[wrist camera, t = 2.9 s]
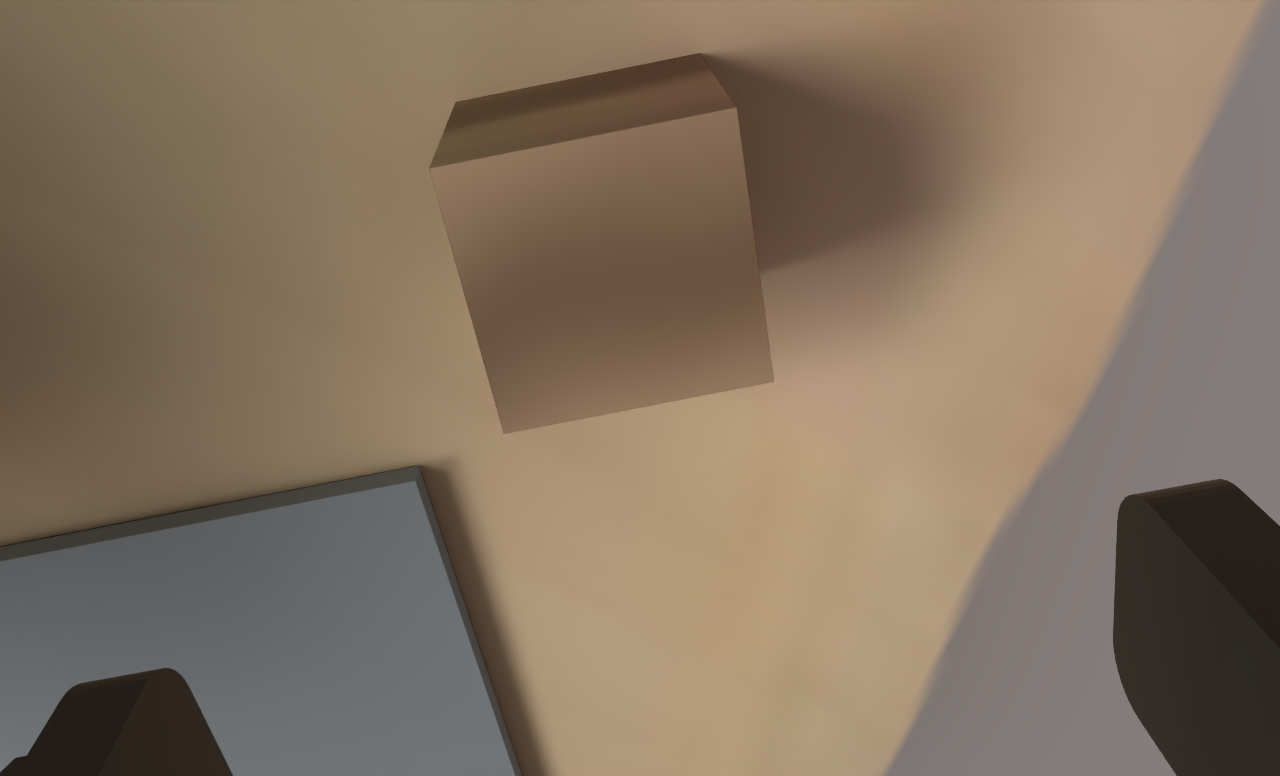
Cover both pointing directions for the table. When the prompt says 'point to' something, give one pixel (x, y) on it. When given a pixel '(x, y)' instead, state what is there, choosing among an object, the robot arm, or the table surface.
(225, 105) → the table surface
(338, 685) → the mat
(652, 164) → the walnut cube
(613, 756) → the table surface
